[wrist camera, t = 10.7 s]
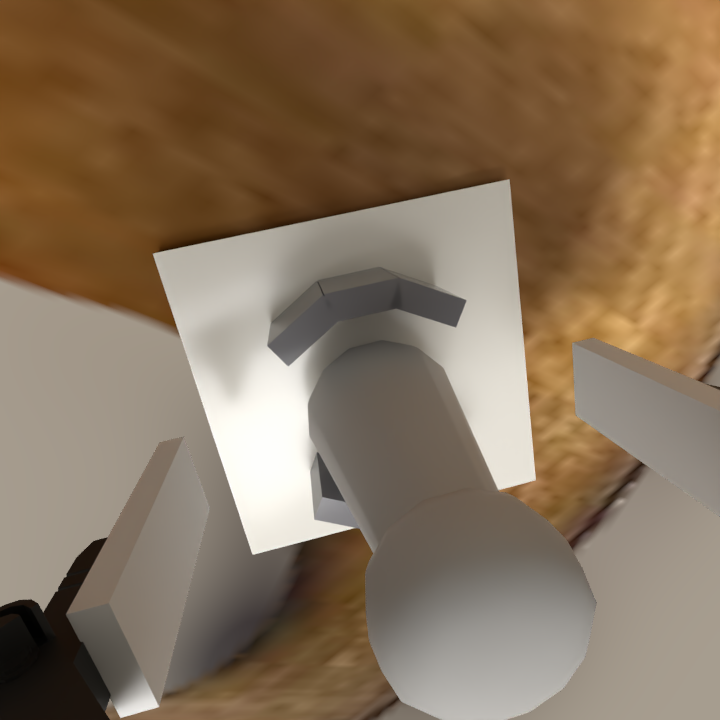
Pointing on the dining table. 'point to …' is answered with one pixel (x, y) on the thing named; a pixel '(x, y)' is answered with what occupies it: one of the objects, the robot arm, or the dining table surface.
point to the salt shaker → (446, 544)
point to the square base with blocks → (349, 339)
